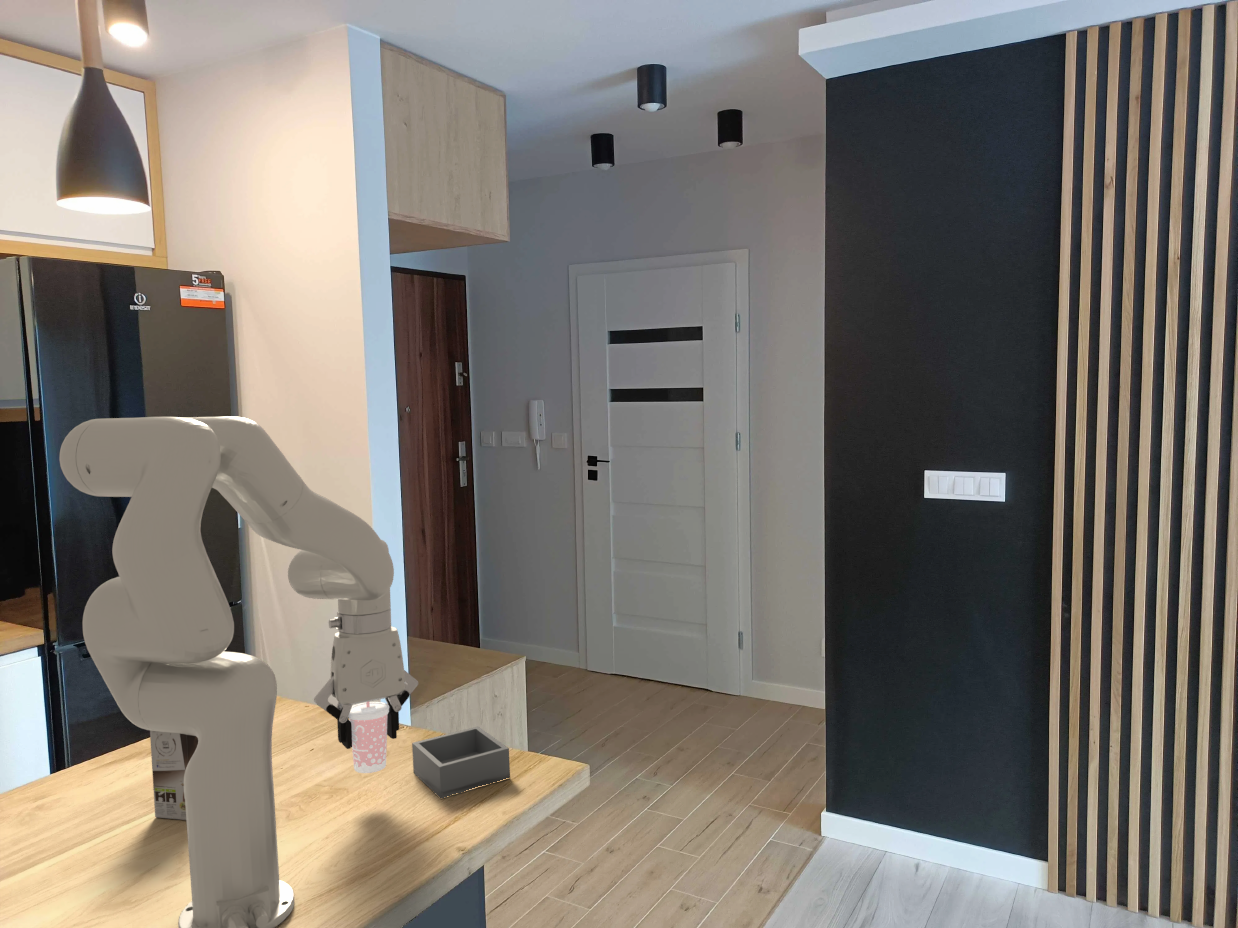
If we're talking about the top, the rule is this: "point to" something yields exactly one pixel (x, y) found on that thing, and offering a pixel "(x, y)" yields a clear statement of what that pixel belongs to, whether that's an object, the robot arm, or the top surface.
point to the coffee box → (170, 771)
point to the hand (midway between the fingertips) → (369, 739)
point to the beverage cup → (369, 736)
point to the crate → (460, 761)
